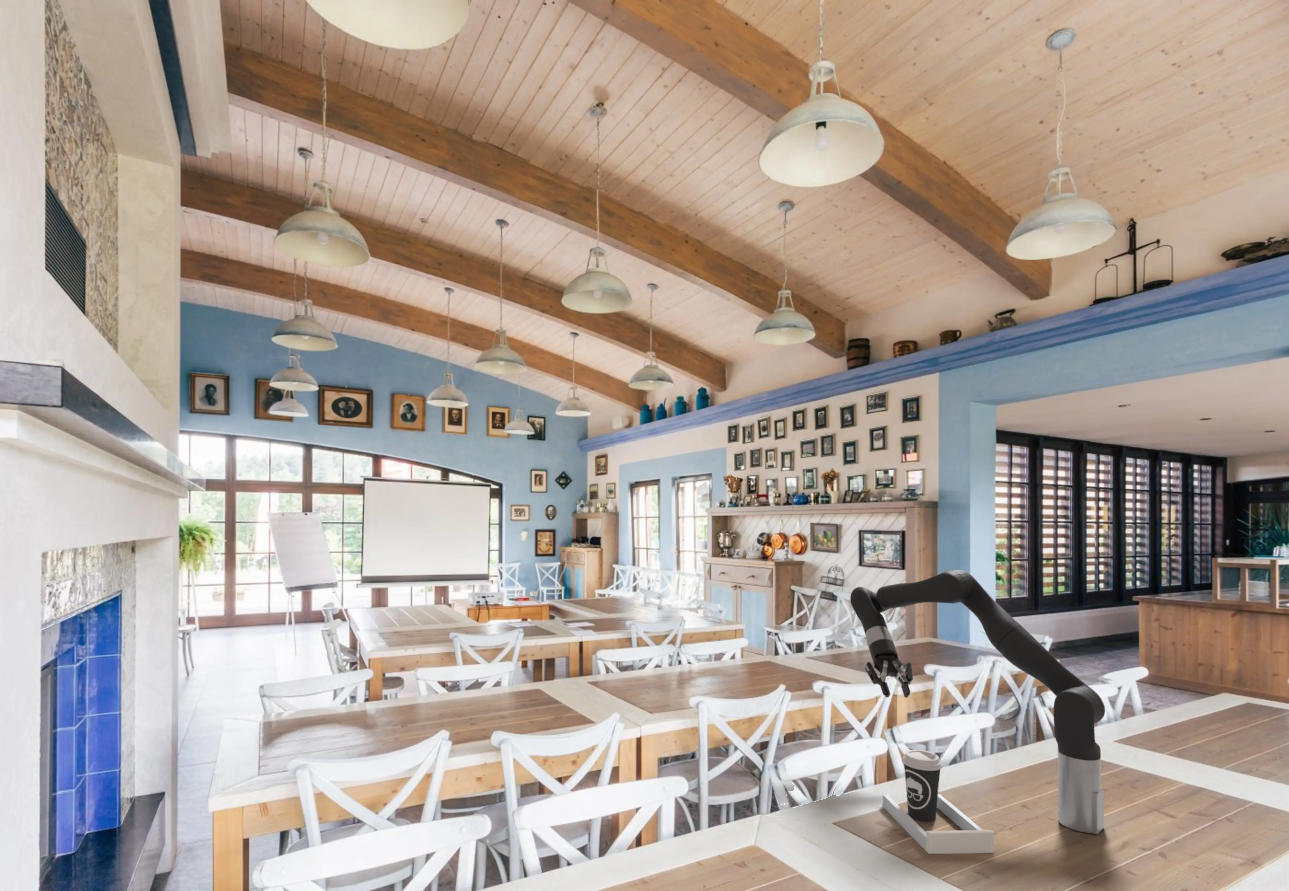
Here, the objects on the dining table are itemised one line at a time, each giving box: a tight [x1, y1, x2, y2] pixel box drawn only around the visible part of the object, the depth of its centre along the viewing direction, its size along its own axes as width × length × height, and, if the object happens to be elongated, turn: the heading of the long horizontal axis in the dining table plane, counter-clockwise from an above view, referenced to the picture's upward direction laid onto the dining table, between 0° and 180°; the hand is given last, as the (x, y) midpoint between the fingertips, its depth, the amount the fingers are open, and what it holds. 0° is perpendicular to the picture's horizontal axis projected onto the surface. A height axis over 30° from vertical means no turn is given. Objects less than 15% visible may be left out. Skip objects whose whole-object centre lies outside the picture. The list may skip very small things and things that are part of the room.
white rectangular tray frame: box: [881, 793, 995, 855], centre depth 179 cm, size 25×15×4 cm, turn 5°
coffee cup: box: [901, 749, 943, 823], centre depth 186 cm, size 10×10×15 cm
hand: (897, 695), depth 211 cm, fingers open, 5 cm apart
